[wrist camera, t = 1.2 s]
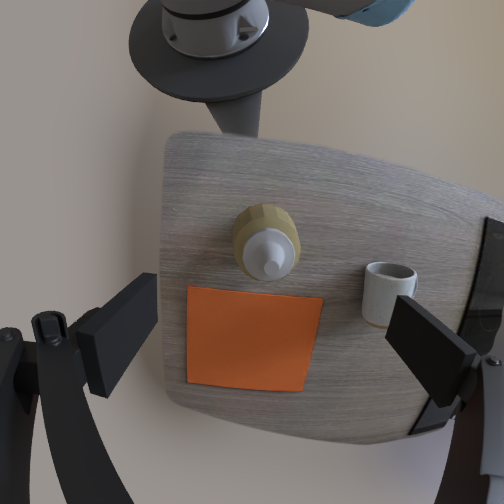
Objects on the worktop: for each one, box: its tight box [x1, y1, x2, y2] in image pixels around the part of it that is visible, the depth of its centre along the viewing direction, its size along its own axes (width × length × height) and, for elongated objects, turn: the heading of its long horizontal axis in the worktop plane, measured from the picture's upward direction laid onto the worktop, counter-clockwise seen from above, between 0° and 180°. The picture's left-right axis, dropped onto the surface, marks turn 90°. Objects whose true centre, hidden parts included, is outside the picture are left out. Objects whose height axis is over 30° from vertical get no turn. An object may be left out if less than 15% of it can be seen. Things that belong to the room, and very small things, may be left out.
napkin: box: [187, 286, 324, 392], centre depth 42 cm, size 18×20×1 cm
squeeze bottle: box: [232, 203, 301, 282], centre depth 30 cm, size 8×8×18 cm
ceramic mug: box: [362, 262, 418, 329], centre depth 37 cm, size 11×8×8 cm
